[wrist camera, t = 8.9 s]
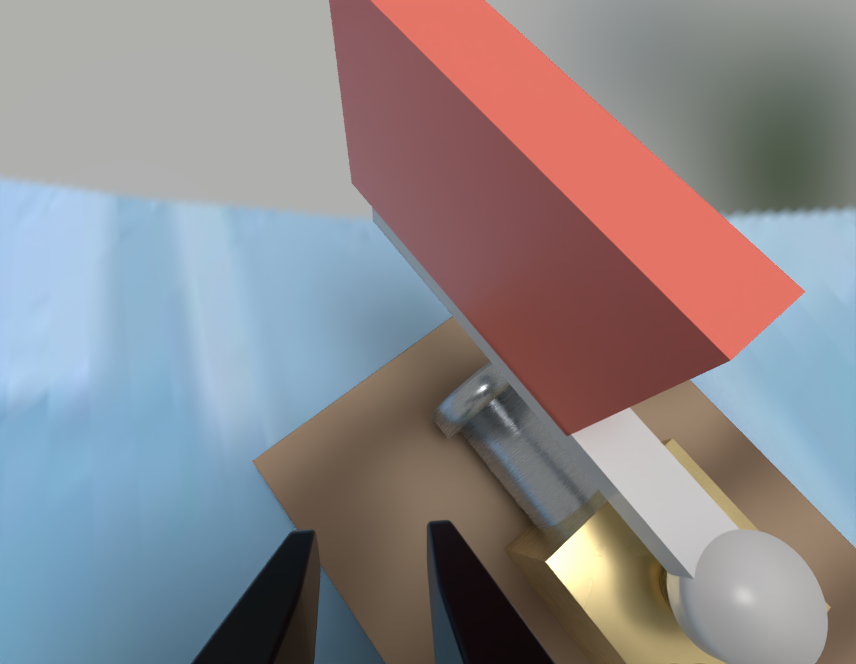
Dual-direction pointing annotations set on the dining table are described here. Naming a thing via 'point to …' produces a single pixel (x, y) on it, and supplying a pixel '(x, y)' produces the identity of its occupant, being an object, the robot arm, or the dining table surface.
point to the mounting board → (495, 499)
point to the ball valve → (576, 530)
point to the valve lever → (574, 284)
